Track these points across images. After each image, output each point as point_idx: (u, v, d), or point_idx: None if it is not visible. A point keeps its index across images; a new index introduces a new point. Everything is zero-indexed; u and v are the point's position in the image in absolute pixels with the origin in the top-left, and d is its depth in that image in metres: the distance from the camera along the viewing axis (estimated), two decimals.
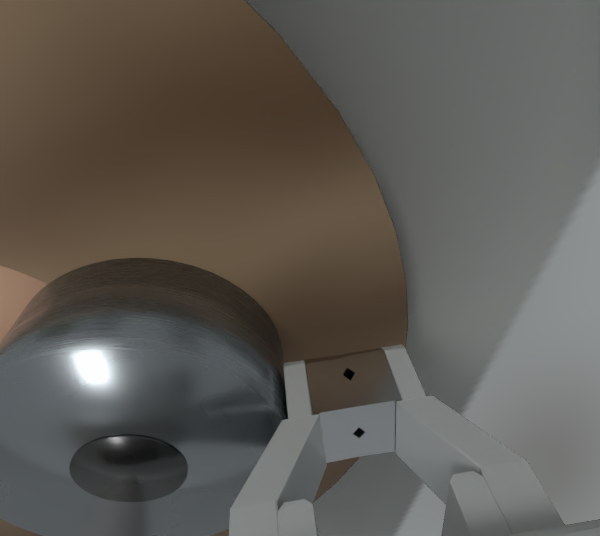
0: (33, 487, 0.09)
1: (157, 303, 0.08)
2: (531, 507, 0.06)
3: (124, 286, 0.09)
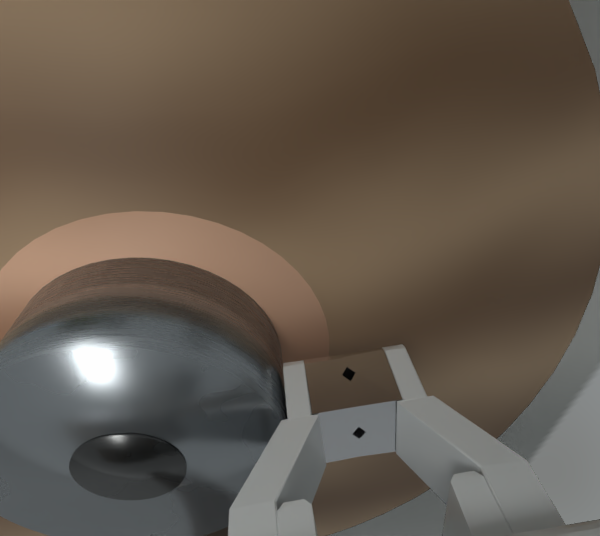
0: (33, 485, 0.09)
1: (155, 302, 0.08)
2: (532, 507, 0.06)
3: (123, 285, 0.09)
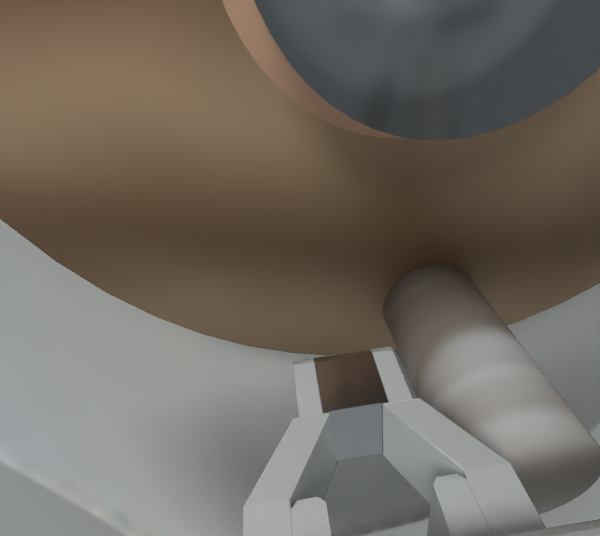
0: None
1: None
2: (513, 510, 0.06)
3: None
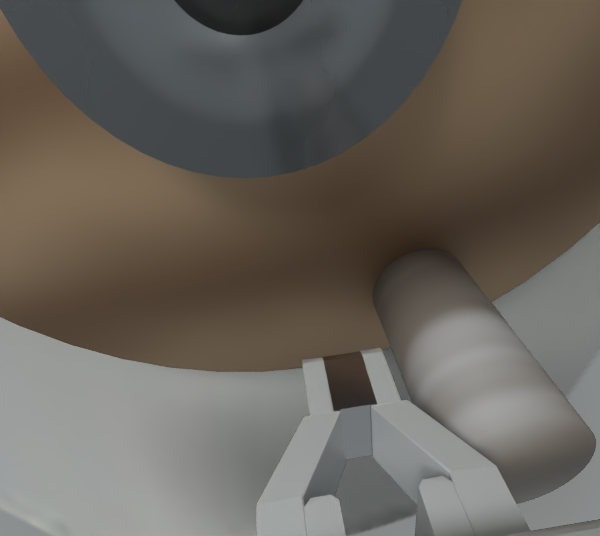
0: (116, 29, 0.06)
1: None
2: (498, 513, 0.06)
3: None
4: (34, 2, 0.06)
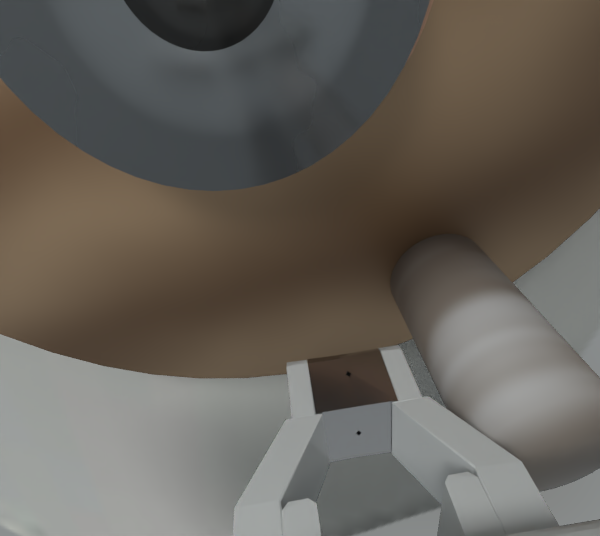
0: (95, 62, 0.06)
1: None
2: (526, 508, 0.06)
3: None
4: (16, 48, 0.06)
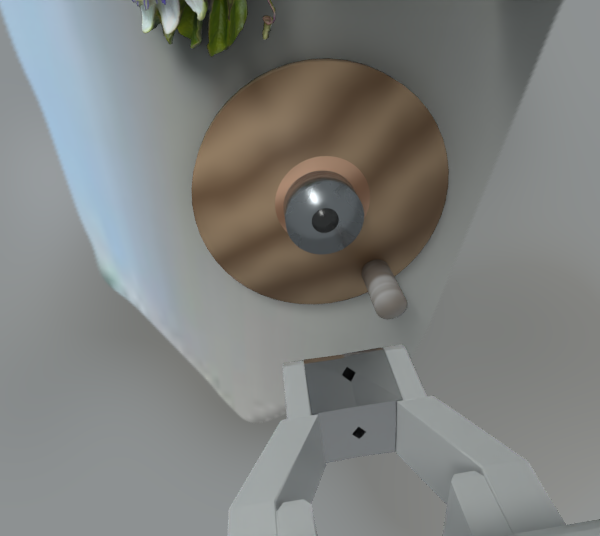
0: (306, 234, 0.38)
1: (314, 178, 0.36)
2: (532, 507, 0.06)
3: (305, 179, 0.37)
4: (293, 233, 0.37)
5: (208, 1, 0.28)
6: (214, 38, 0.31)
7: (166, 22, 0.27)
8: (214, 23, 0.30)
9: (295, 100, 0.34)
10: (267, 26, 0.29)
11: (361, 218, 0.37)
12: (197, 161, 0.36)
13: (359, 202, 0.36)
